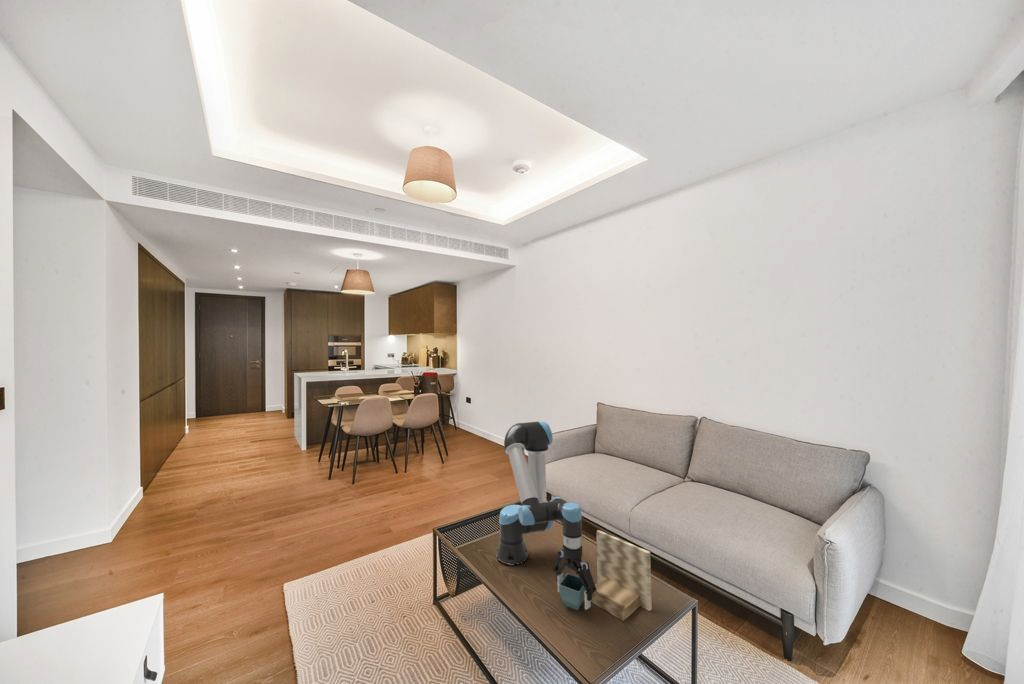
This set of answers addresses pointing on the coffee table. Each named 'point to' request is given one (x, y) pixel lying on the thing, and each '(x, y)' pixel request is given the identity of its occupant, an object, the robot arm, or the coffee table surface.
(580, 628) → the coffee table surface
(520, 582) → the coffee table surface
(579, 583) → the flower pot
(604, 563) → the board
